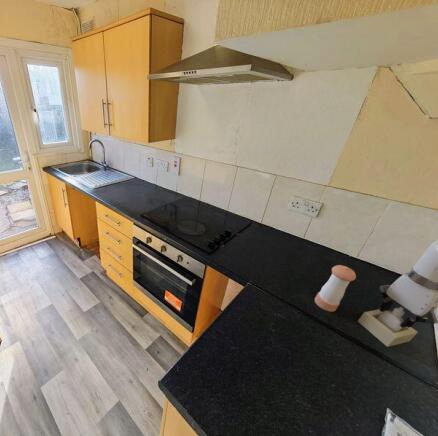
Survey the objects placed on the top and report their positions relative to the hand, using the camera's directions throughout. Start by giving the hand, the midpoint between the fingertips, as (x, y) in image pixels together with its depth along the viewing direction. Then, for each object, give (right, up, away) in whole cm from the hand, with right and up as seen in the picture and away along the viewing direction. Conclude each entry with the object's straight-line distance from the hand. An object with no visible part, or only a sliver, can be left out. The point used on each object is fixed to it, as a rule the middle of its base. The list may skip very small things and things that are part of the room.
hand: (393, 317), depth 78 cm
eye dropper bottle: (0, -6, +3) cm, 7 cm away
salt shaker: (-13, -1, +13) cm, 19 cm away
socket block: (0, -6, +3) cm, 7 cm away
